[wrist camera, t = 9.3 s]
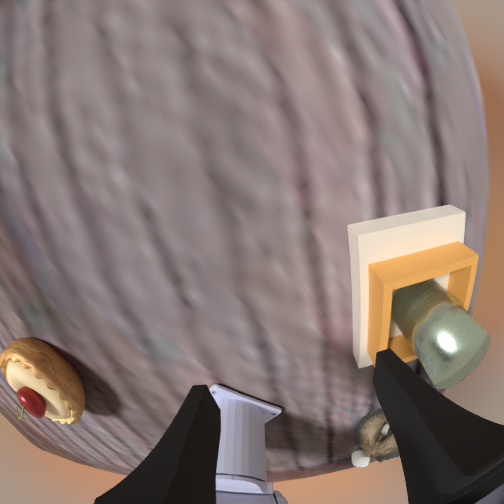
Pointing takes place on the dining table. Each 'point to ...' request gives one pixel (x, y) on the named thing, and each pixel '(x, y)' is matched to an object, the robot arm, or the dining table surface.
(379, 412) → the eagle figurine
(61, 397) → the pastry
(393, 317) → the green can
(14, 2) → the dining table surface
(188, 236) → the dining table surface
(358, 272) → the orange and cream box
